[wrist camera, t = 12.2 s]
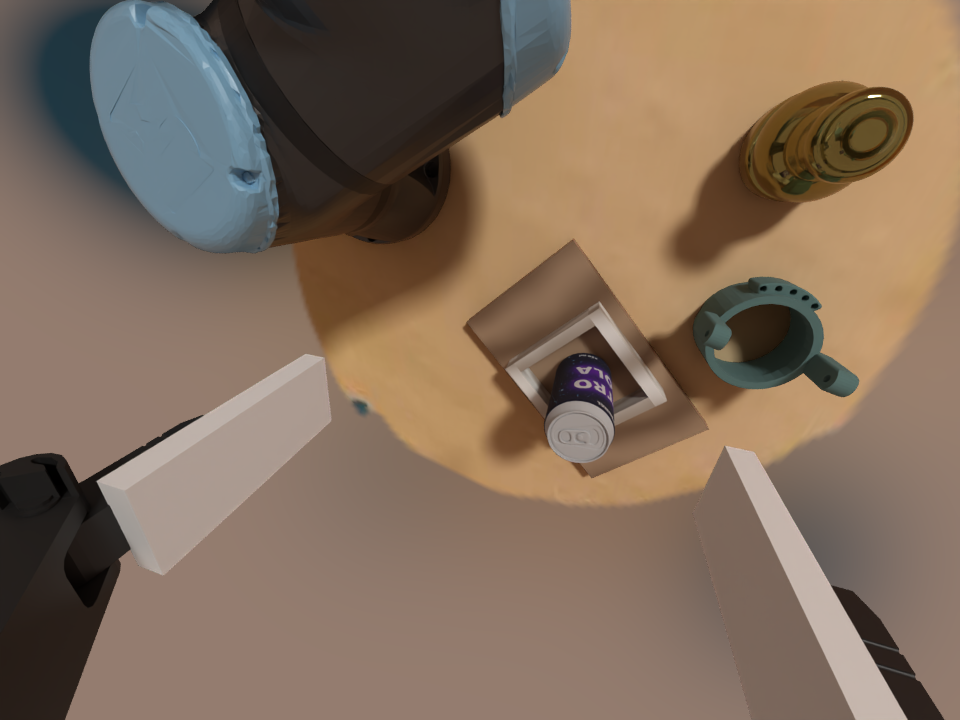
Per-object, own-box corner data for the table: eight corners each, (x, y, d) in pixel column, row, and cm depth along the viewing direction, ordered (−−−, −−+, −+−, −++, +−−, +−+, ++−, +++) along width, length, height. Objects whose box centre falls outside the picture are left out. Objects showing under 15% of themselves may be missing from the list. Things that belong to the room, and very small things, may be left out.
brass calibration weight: (870, 153, 29) (986, 138, 20) (765, 220, 32) (826, 232, 24) (821, 69, 28) (921, 15, 19) (718, 147, 31) (764, 131, 23)
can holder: (470, 318, 44) (459, 329, 40) (573, 238, 37) (571, 243, 34) (592, 470, 47) (591, 492, 44) (705, 421, 41) (715, 443, 37)
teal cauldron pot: (805, 352, 36) (864, 397, 28) (696, 374, 39) (721, 420, 31) (792, 259, 33) (853, 280, 25) (677, 292, 37) (699, 320, 29)
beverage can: (611, 397, 41) (615, 469, 31) (558, 397, 43) (544, 465, 32) (610, 348, 39) (615, 407, 28) (554, 350, 41) (539, 406, 30)
